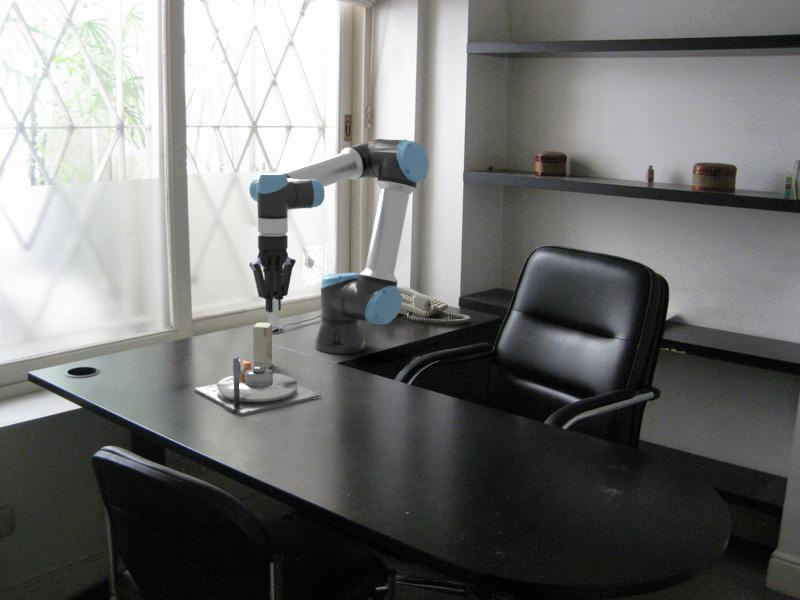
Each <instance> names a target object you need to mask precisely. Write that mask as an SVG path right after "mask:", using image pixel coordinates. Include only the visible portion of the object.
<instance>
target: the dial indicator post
mask: <svg viewBox="0 0 800 600" xmlns="http://www.w3.org/2000/svg"><path fill="white" fill-rule="evenodd" d="M232 360H233V361H232V370H233V371H232V373H233V378H234V403H233V404H228V405H225V407H224V408H225V410H226V411H228V412H230V413H232V414H233V415H234V414H236V410H238V409H242V408H247V407H248V406H247V405H245V404H243V403H241V402H240V381H239V376H240V375H243V374H244V372H245V366H244V363H243V360H242V358H240V357H239V356H233V358H232Z"/></svg>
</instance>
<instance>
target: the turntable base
mask: <svg viewBox="0 0 800 600" xmlns="http://www.w3.org/2000/svg"><path fill="white" fill-rule="evenodd" d="M217 384H218V383H214V384H209V385H204V386H199V387H194V392H195V393H198V394H199V395H201V396H203V397H205V398H207V399H209V400H210V401H212V402H214V403H216V404H218V405H219V406H221V407H223V408H225V405H228V404H233V403H234V400H231V399H227V398H224V397H222V396H221V395H219V394H218V392H217ZM318 397H322V395H321V393H319V392H316V391H314V390H311V389H309V388H307V387H304V386H303V385H300V384H298V383H297V391H296V392H295V393H294V394H293V395H291V396H289V397H286V398H283V399H279V400H274V401H266V402H242V401H240V402H241V403H243V404H245V405H247V406H248V407H247V408H242V409H238V410H236V413H235V414H236V415H238V416H240V417H242V416H243V417H244V416H248V415H251V414H252V415H253V414H256V413H259V412H265V411H269V410H270V411H271V410H274V409H279V408H282V407H283V408H284V407H286V406H291V405H296V404H299V403H298V402H300V403H304V402H307V401H306V400H309V401H312V400H311V399H313V400H315V399H314V398H317V399H319V398H318ZM303 401H304V402H303ZM295 403H296V404H295Z"/></svg>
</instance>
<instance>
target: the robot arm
mask: <svg viewBox="0 0 800 600" xmlns="http://www.w3.org/2000/svg"><path fill="white" fill-rule="evenodd" d="M429 161H430V160H429V157H428V153H426V149H425V147H423V145H422V144H421V143H419V142H417V141H413V140H407V139H384V138H377V139H370V140H367V141H364V142H360V143H358V144H355V145H352V146H348V147H346V148H344V149H342V150H341V152H340V153H338V154H336V155H335V154H334V155H332V156H329V157H326V158H322V159H319V160H317V161H313V162H310V163H309V162H308V163H307V164H303V165H300V166H297V167H294V168H291V169H289V170H288V169H287V170H285V171H282V172H262V173H260V174H259V175H257V176H255V177H254V178H252V180H251V181H250V183H249V188H248V189H249V195H250V198H252V200H253V201H255V202H257V232H258V236H257V249H258V255H257V259H256V260H255V261H254V262H252V261H250V263H249V267H250V269H251V270H252V272H253V277H254V281H255V284H256V286H255V287H256V290H257V294H258V297H259V298H261V299H264V300H265V311H266V312H267V323H270V324H272V326H276V325H279V324H280V320H279V315H280V314H279V312H280V311H281V310H282V307H281V306H282V304H281V303H282V300H283V299H284V297H286V296H288V293H289V289H290V284H291V283H290V282H291V277H292V273H293V272H292V271H293V268H294V266H295V264H296V259H294V258H291V257H290V256H289V253H288V251H287V249H288V245H289V244H288V237H289V236H288V235H287V233H288V232H289V227H288V224H289V222H288V217H289V216H288V213H289V212H288V211H289V210H298V209H300V210H301V209H310V210H311V209H312V208H317V207H320V206H321V205H322V204H323V203H324V201H325V197H326V196H325V191H326V190H325V187H327V186H330V185H333V184H336V183H340V182H342V181H344V180H347V179H349V180H353V181H354V180H358V179H363V178H374V179H376V183H377V184H378V186H379V188H380V191H379V196H378V197H379V198H378V202H377V208H376V211H375V217H374V222H373V228H372V232H371V233H372V234H371V237H370V238H371V239H370V243H369V248H368V253H367V259H366V263H365V268H364V269H363V270H361V271H360V272H338V273H332V274H326V275H325V276H323V278H322V279H321V287H320V305H321V306H320V309H321V311H320V315H321V316H320V318H321V320H320V326H319V328H318V331H317V335H316V337H315V341H314V346H315V349H316V350H317V351H320V352H323V353H327V354H338V355H340V354H343V355H344V354H353V353H358V352H361V351H362V350H364V349H365V338H364V336H363V332H362V329H361V325H360V321H363V322H367V323H369V324H372V325H373V324H375V325H376V324H377V325H386V324H389V323H391V322H392V321H393V319H395V318H396V317H397V315H398V314H399V313H400V311H401V308H402V304H403V296H402V292H401V290H400V289H399V288H398V287H397V286H398V283H399V282H398V279H397V277H396V276H395V270H396V265H397V261H398V255H399V250H400V246H401V241H402V234H403V229H404V224H405V219H406V215H407V209H408V205H409V199H410V195H411V194H412V193H413V192H415V191H416V189H417V186H418V185H417V184H418V183H419V182H420V183H421V182H422V181H424V179H425V178H426V177H427V175H428V173H429V165H430V164H429Z"/></svg>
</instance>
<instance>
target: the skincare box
mask: <svg viewBox="0 0 800 600" xmlns="http://www.w3.org/2000/svg"><path fill="white" fill-rule="evenodd" d="M252 331H253V332H252V333H253V340H252V341H253V344H252V345H253V367H255V366H263V367H265V369H270V368H271V366H272V365H273V345H272V344H273V324H270V323H268V322H256V323H255V324H254V326H253V329H252Z"/></svg>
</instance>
